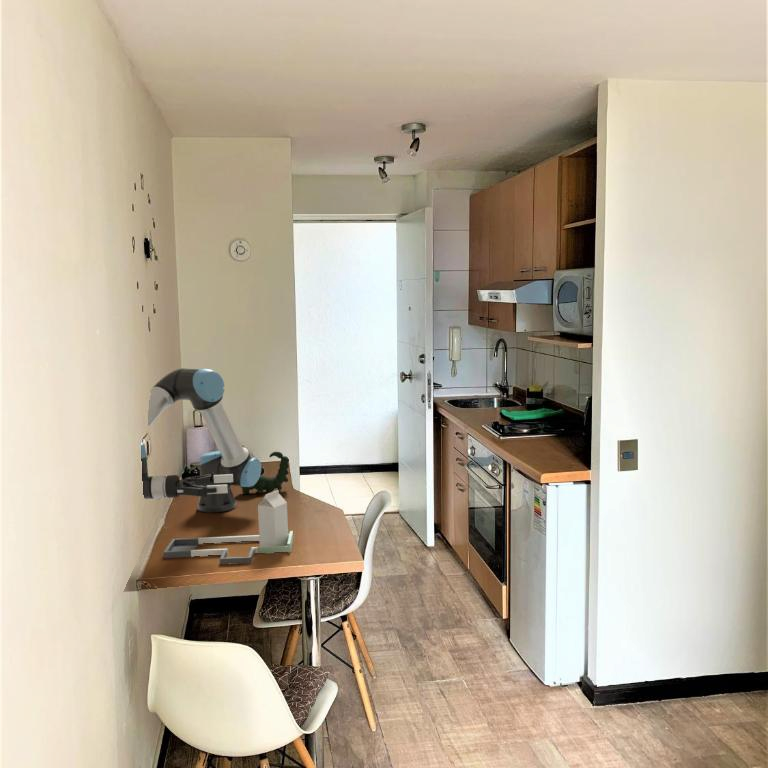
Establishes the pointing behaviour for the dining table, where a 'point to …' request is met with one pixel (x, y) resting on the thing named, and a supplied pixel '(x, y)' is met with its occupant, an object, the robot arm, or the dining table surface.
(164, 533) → the dining table surface
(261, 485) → the toy figurine
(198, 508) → the robot arm
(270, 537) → the milk carton
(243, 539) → the trap lane
